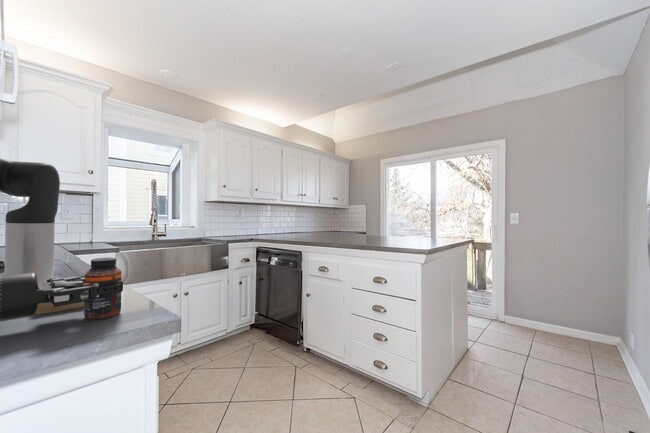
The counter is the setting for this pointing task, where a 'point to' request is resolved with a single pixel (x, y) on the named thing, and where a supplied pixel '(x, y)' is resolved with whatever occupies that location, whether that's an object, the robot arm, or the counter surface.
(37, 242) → the robot arm
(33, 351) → the counter surface
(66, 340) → the counter surface
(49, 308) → the oak base
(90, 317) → the supplement bottle
